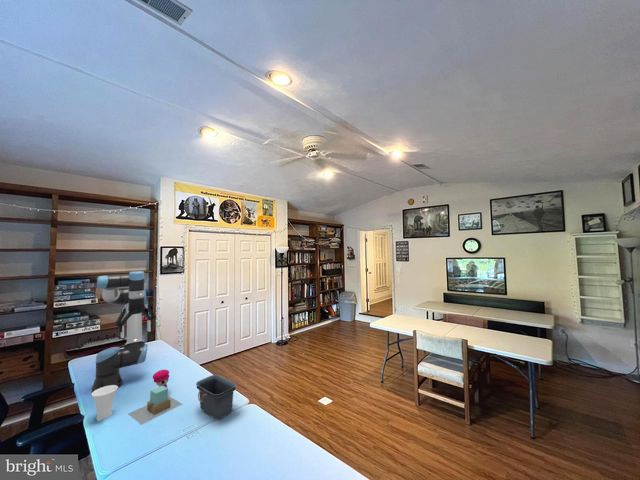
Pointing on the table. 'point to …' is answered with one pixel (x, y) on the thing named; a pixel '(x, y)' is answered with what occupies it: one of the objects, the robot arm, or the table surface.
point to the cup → (104, 401)
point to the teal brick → (158, 395)
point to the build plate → (144, 415)
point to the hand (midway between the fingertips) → (136, 334)
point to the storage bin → (216, 395)
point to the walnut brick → (158, 406)
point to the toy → (161, 378)
